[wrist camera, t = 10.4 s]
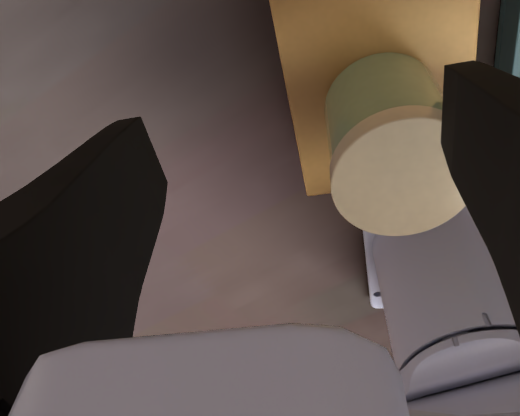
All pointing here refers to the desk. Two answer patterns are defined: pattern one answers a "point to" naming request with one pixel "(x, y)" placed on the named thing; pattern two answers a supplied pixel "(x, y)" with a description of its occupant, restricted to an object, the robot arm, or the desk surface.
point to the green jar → (389, 147)
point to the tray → (508, 38)
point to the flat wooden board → (359, 54)
